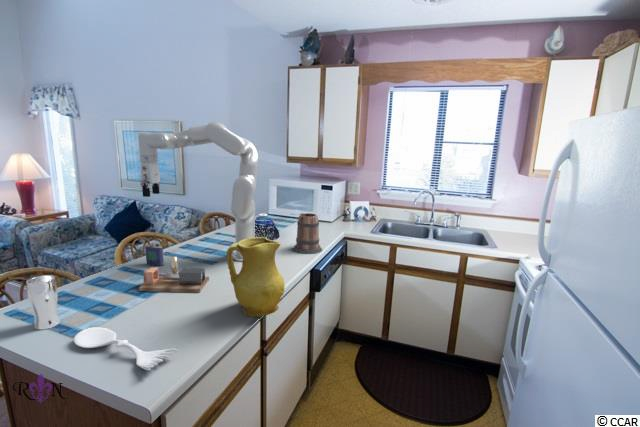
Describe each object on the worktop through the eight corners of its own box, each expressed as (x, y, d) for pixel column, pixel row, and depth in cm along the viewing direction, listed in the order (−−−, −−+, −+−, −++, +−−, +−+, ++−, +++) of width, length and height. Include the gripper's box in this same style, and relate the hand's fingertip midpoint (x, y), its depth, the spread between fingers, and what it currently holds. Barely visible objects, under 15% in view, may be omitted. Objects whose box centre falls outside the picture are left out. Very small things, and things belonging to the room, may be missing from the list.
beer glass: (43, 318, 104) (37, 274, 101) (66, 318, 105) (61, 274, 102) (26, 331, 97) (18, 284, 94) (51, 330, 98) (44, 284, 95)
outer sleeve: (205, 279, 134) (204, 268, 133) (201, 284, 129) (200, 273, 128) (184, 279, 134) (183, 268, 133) (179, 284, 129) (178, 272, 128)
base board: (209, 279, 138) (208, 276, 138) (200, 292, 126) (199, 288, 126) (153, 279, 137) (153, 275, 137) (139, 291, 125) (138, 287, 125)
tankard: (316, 256, 173) (317, 219, 169) (287, 251, 178) (288, 216, 174) (329, 244, 195) (331, 211, 191) (303, 240, 200) (304, 208, 196)
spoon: (149, 380, 80) (148, 367, 79) (66, 346, 91) (65, 335, 91) (178, 358, 88) (177, 347, 87) (98, 330, 100) (97, 320, 99)
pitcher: (262, 325, 104) (260, 249, 100) (222, 311, 114) (219, 241, 110) (294, 305, 118) (294, 238, 115) (256, 294, 128) (254, 232, 125)
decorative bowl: (285, 236, 209) (286, 214, 206) (264, 243, 193) (264, 219, 190) (262, 231, 220) (262, 210, 217) (240, 237, 203) (240, 214, 200)
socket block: (158, 279, 133) (158, 267, 132) (153, 284, 129) (152, 272, 128) (150, 279, 133) (149, 267, 132) (144, 284, 128) (143, 272, 127)
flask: (165, 264, 153) (163, 242, 151) (160, 266, 151) (159, 244, 149) (149, 262, 156) (147, 240, 154) (144, 264, 153) (142, 242, 151)
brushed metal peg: (203, 278, 133) (202, 256, 131) (200, 281, 130) (199, 258, 128) (166, 278, 132) (164, 255, 131) (163, 280, 130) (161, 258, 128)
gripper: (148, 160, 146) (150, 198, 150) (164, 159, 163) (166, 192, 167) (131, 159, 146) (134, 197, 150) (149, 158, 163) (152, 192, 167)
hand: (151, 195), depth 158 cm, fingers open, 9 cm apart
